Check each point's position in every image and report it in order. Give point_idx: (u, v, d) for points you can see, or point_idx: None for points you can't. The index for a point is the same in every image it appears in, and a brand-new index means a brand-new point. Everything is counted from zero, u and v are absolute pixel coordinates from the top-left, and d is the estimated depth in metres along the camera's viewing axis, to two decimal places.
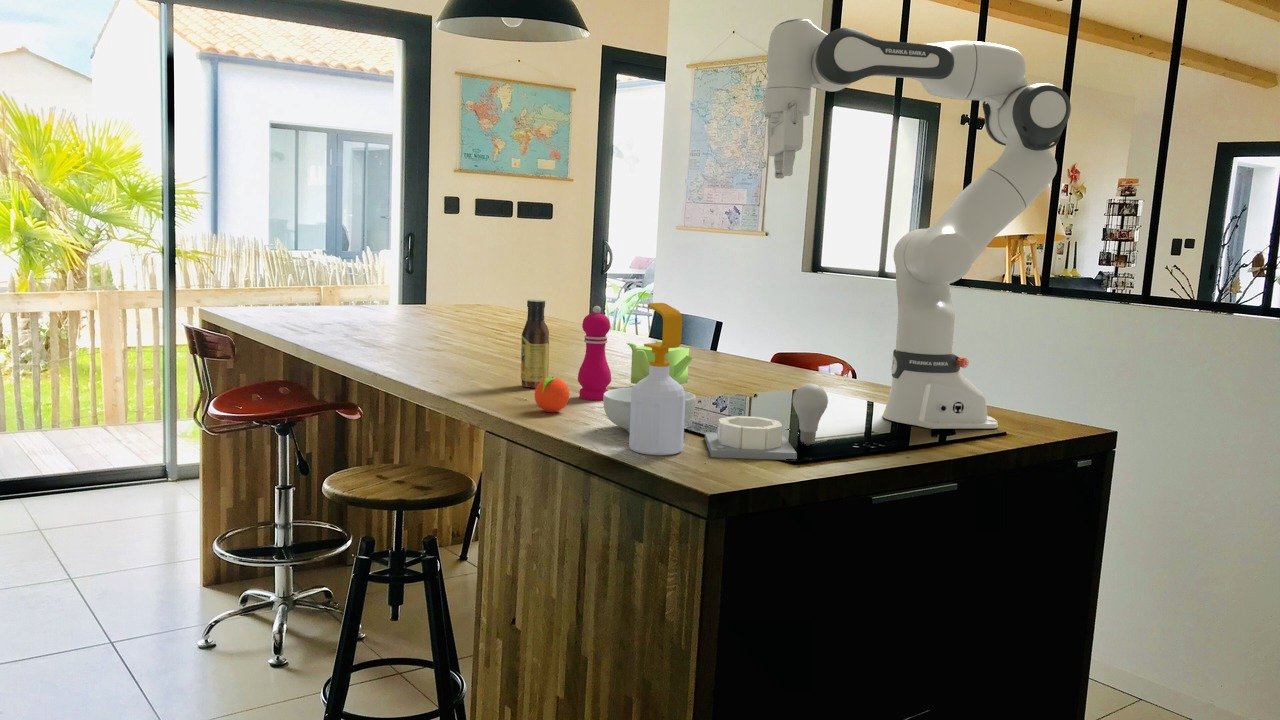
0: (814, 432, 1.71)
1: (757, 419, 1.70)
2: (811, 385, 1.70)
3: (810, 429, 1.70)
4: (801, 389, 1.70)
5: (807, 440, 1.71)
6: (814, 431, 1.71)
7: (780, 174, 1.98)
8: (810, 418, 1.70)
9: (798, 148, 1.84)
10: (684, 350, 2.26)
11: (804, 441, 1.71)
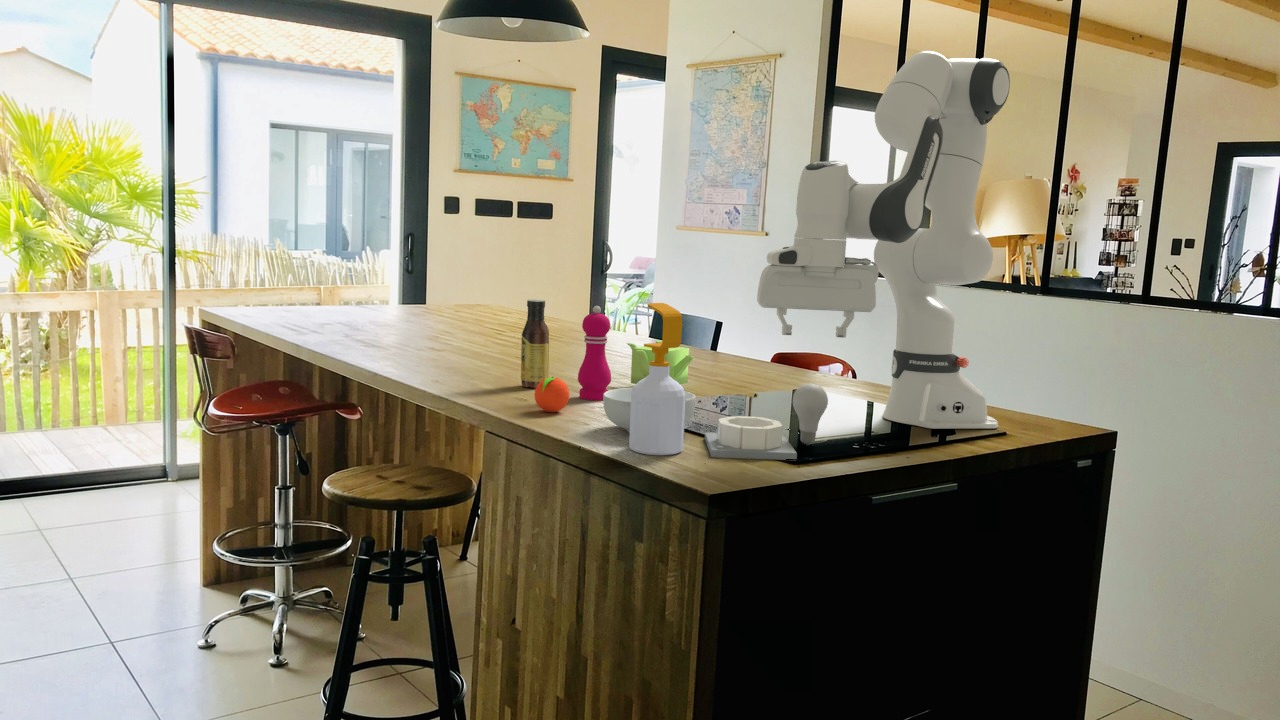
0: (814, 432, 1.71)
1: (757, 419, 1.70)
2: (811, 385, 1.70)
3: (810, 429, 1.70)
4: (801, 389, 1.70)
5: (807, 440, 1.71)
6: (814, 431, 1.71)
7: None
8: (810, 418, 1.70)
9: None
10: (684, 350, 2.26)
11: (804, 441, 1.71)
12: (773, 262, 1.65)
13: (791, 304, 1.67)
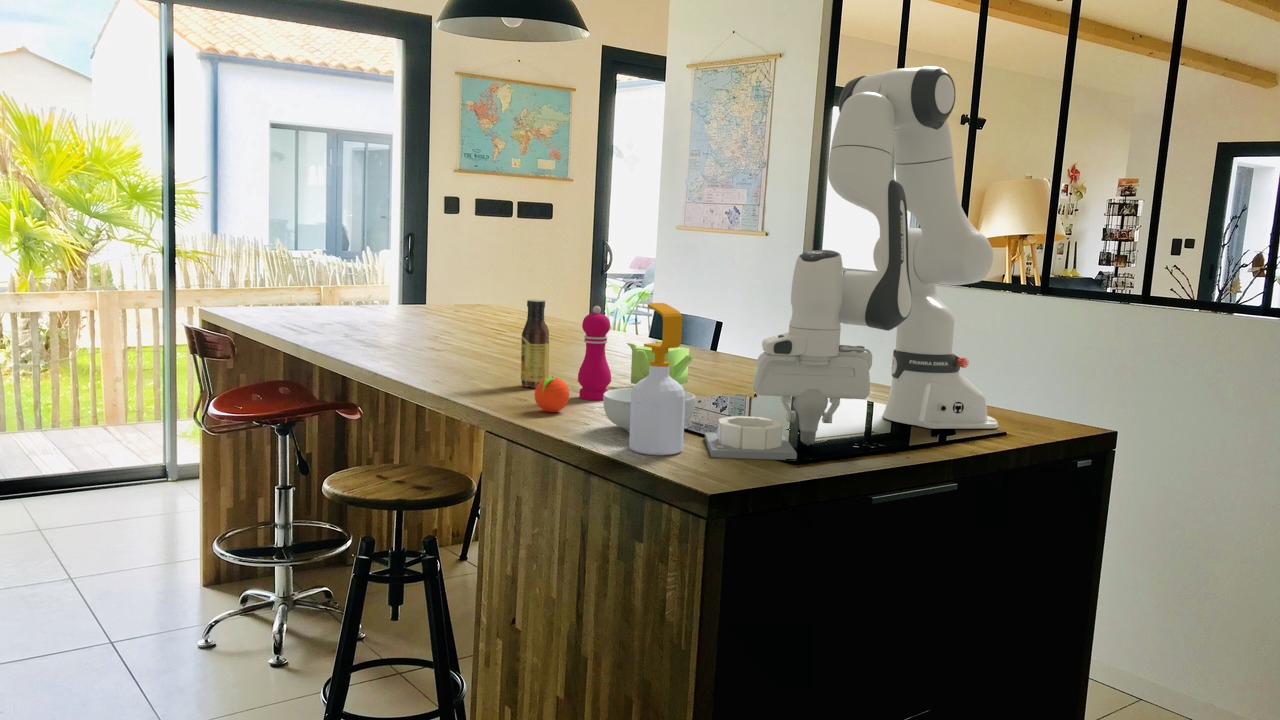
0: (814, 432, 1.71)
1: (757, 419, 1.70)
2: None
3: (810, 429, 1.70)
4: None
5: (807, 440, 1.71)
6: (814, 431, 1.71)
7: None
8: (810, 418, 1.70)
9: None
10: (684, 350, 2.26)
11: (804, 441, 1.71)
12: (768, 352, 1.67)
13: (786, 392, 1.69)
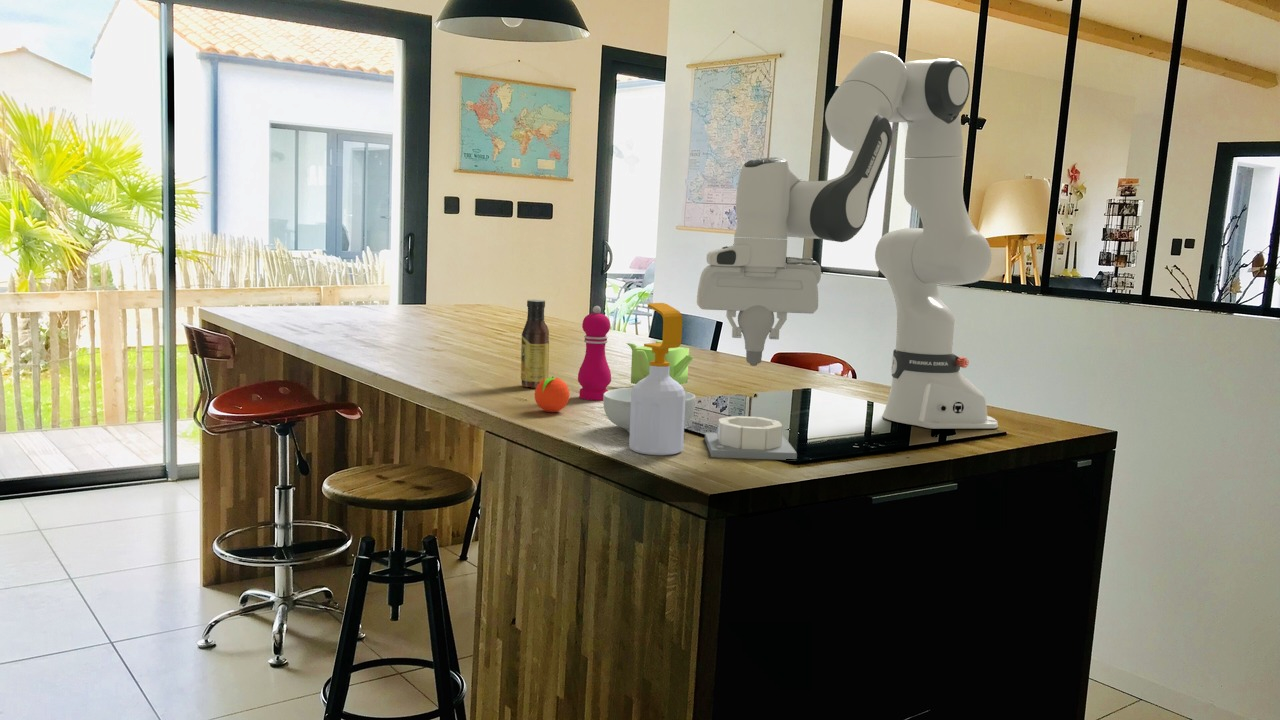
0: (760, 351, 1.64)
1: (757, 419, 1.70)
2: None
3: (756, 348, 1.63)
4: None
5: (753, 360, 1.64)
6: (760, 350, 1.64)
7: None
8: (756, 336, 1.63)
9: None
10: (684, 350, 2.26)
11: (750, 361, 1.64)
12: (711, 262, 1.60)
13: (731, 306, 1.62)
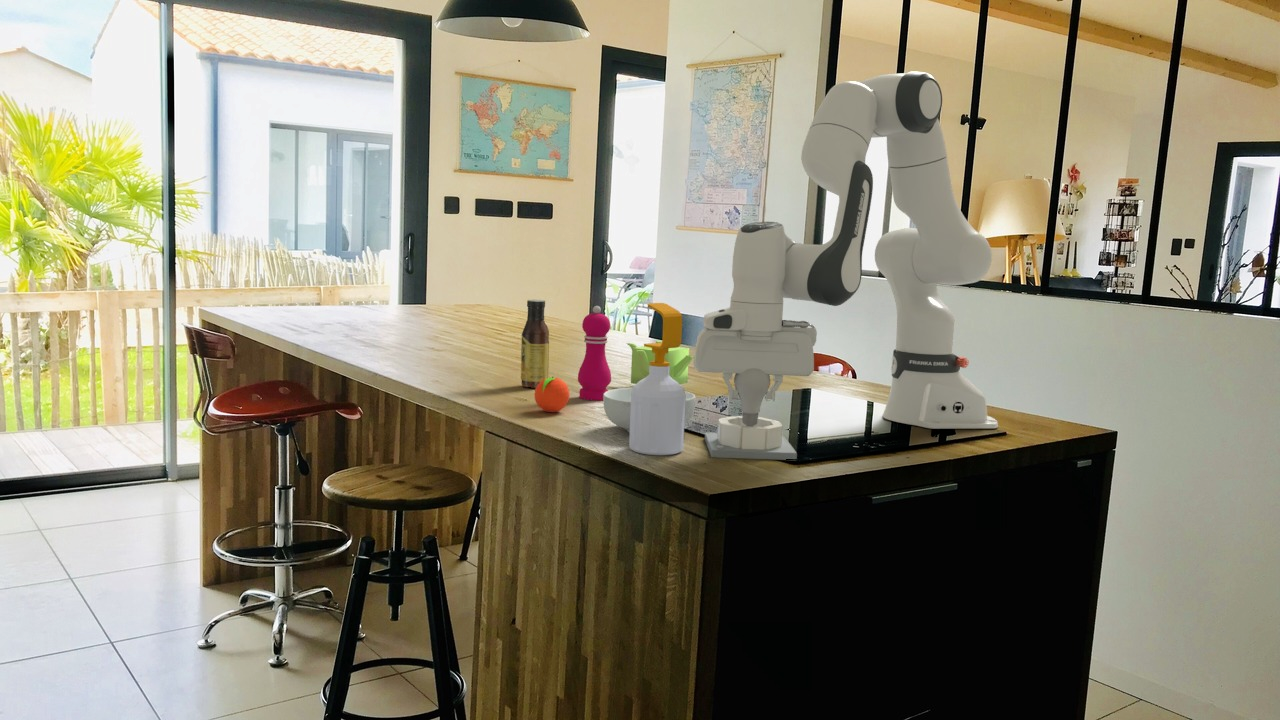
0: (756, 413, 1.65)
1: None
2: None
3: (752, 410, 1.65)
4: None
5: (749, 421, 1.65)
6: (756, 412, 1.65)
7: None
8: (752, 399, 1.64)
9: None
10: (684, 350, 2.26)
11: (746, 423, 1.66)
12: (708, 326, 1.61)
13: (727, 368, 1.64)
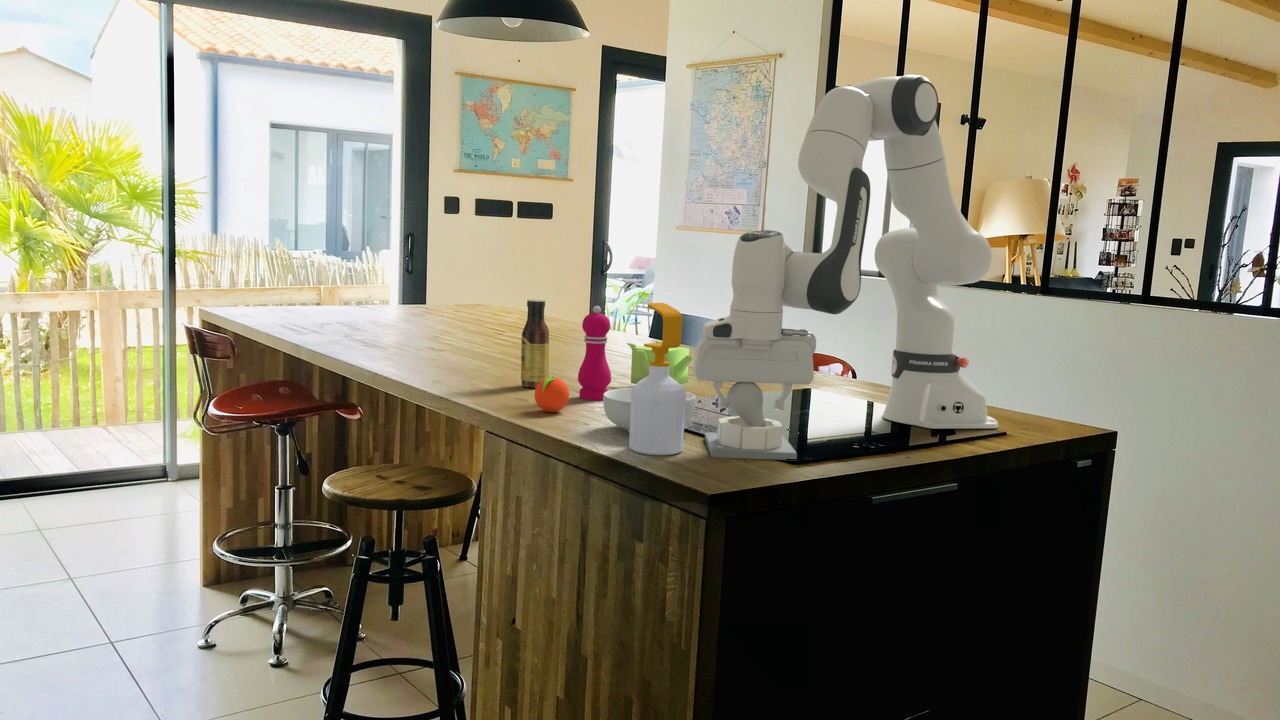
0: (763, 425, 1.66)
1: None
2: (738, 384, 1.64)
3: (758, 425, 1.65)
4: (731, 393, 1.64)
5: None
6: (763, 424, 1.66)
7: None
8: (752, 415, 1.64)
9: None
10: (684, 350, 2.26)
11: None
12: (707, 335, 1.61)
13: (727, 377, 1.64)
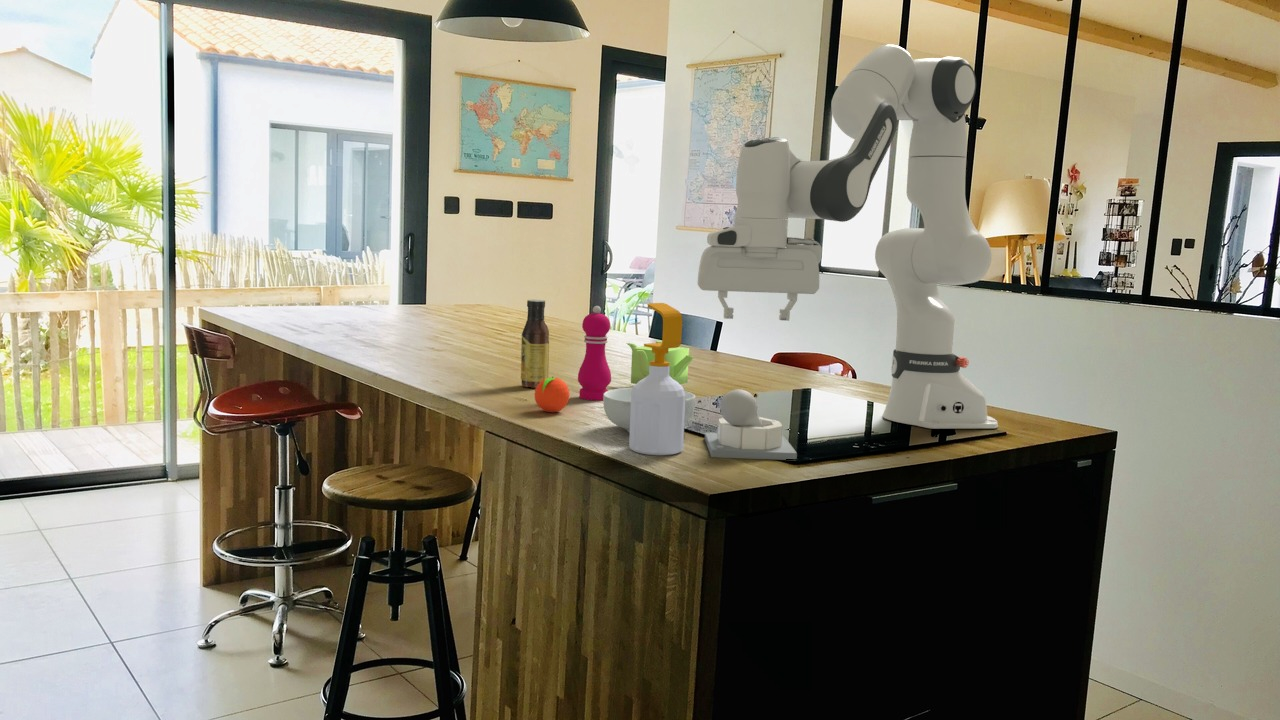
0: None
1: None
2: (729, 400, 1.61)
3: None
4: (723, 408, 1.62)
5: None
6: None
7: None
8: None
9: None
10: (684, 350, 2.26)
11: None
12: (712, 243, 1.59)
13: (732, 286, 1.62)
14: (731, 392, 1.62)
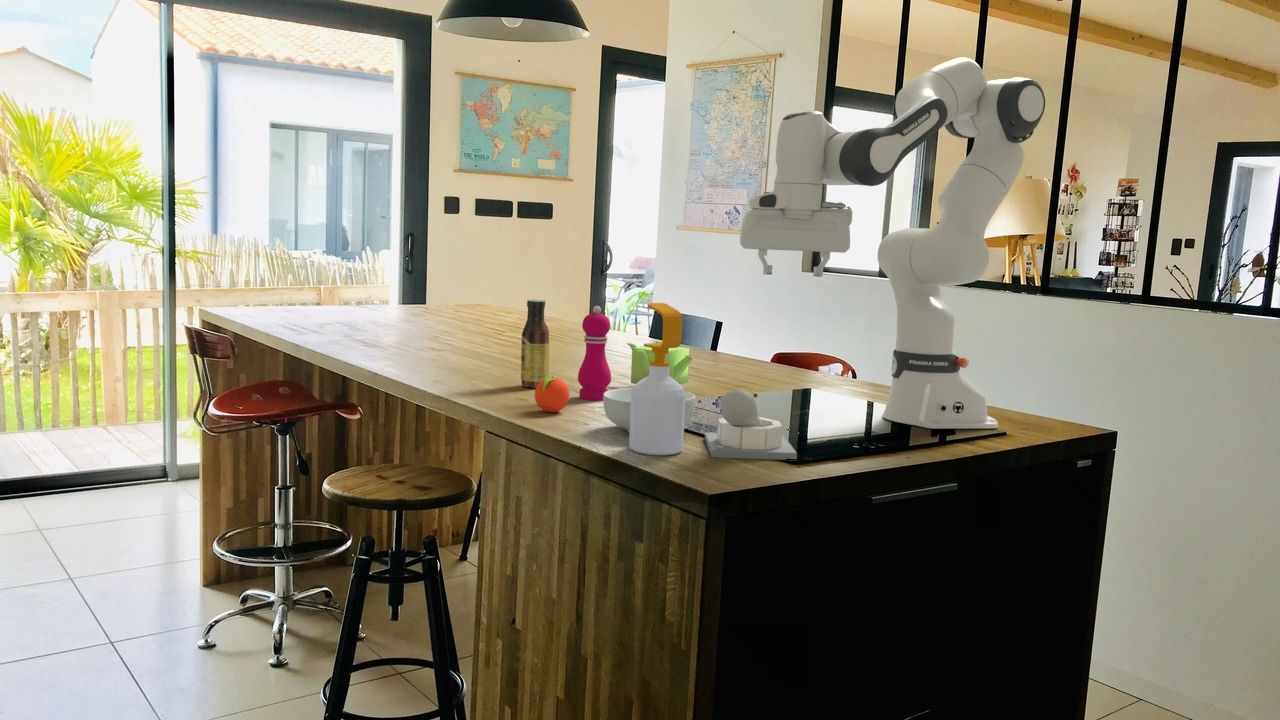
0: None
1: None
2: (729, 400, 1.61)
3: None
4: (723, 408, 1.62)
5: None
6: None
7: None
8: None
9: None
10: (684, 350, 2.26)
11: None
12: (754, 205, 1.78)
13: (771, 245, 1.80)
14: (731, 392, 1.62)
